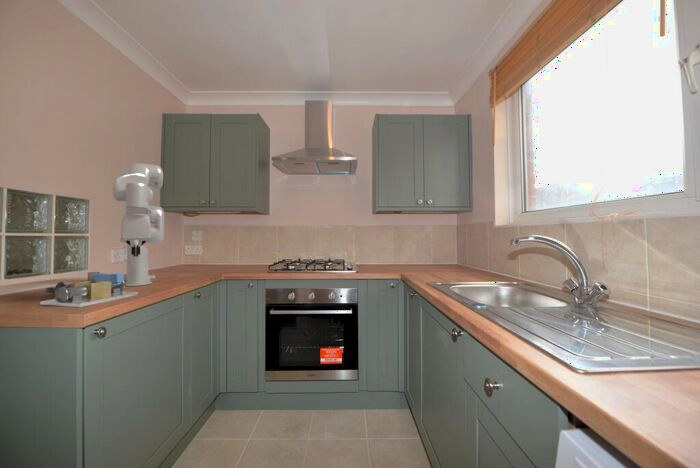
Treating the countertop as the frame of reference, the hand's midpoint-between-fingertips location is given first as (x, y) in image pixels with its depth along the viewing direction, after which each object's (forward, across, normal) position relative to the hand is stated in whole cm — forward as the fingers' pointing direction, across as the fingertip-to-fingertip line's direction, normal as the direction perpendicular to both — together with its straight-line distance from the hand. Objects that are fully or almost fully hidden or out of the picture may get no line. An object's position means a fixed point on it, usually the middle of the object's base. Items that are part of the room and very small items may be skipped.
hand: (135, 256), depth 124 cm
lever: (+10, +10, -4) cm, 15 cm away
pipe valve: (+17, +14, -8) cm, 24 cm away
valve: (+18, +25, -33) cm, 45 cm away
